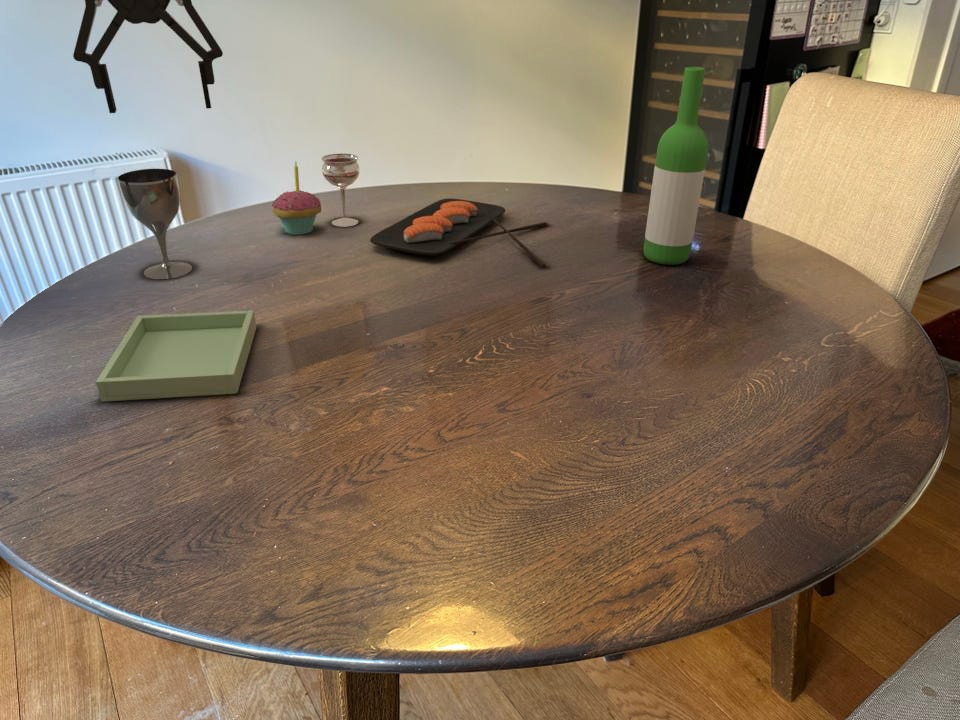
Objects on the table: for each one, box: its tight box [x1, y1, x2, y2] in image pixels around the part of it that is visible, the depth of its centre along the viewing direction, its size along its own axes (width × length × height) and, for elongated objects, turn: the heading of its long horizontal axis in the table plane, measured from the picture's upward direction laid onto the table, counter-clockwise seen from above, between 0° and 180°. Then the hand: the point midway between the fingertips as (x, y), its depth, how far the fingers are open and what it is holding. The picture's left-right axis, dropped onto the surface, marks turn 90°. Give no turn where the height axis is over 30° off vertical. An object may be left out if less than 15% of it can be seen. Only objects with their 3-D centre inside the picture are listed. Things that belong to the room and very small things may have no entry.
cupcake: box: [271, 161, 322, 236], centre depth 125 cm, size 9×8×12 cm
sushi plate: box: [369, 198, 548, 268], centre depth 124 cm, size 29×30×4 cm
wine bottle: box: [643, 66, 709, 266], centre depth 111 cm, size 8×8×30 cm
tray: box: [95, 310, 257, 403], centre depth 85 cm, size 15×17×3 cm
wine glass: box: [117, 168, 193, 280], centre depth 107 cm, size 8×8×15 cm
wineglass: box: [320, 152, 361, 228], centre depth 129 cm, size 7×7×12 cm
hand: (161, 109), depth 108 cm, fingers open, 13 cm apart
